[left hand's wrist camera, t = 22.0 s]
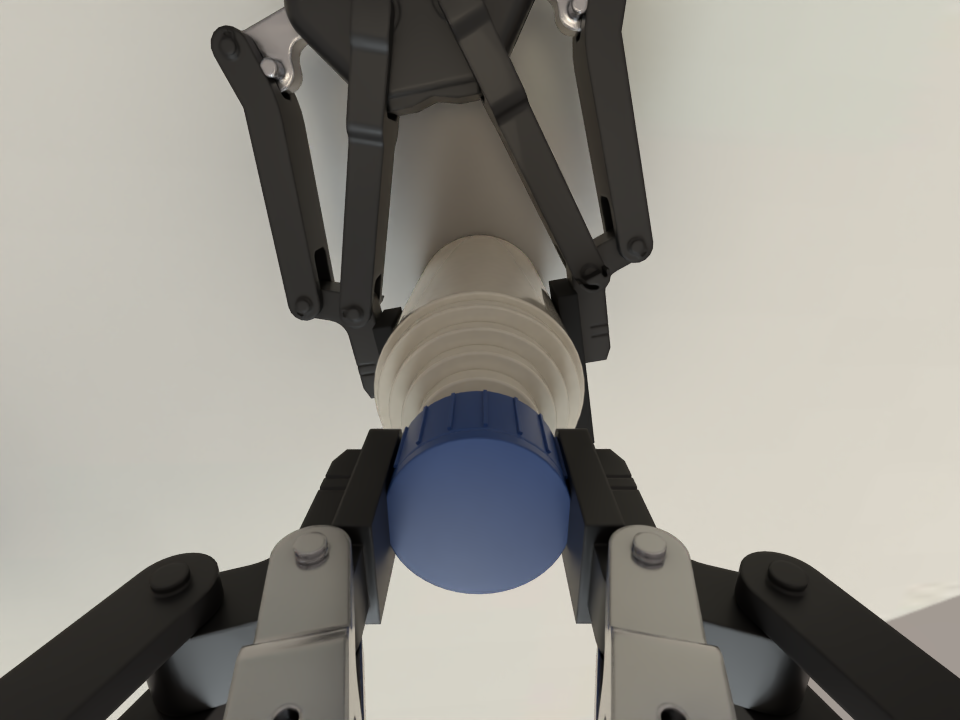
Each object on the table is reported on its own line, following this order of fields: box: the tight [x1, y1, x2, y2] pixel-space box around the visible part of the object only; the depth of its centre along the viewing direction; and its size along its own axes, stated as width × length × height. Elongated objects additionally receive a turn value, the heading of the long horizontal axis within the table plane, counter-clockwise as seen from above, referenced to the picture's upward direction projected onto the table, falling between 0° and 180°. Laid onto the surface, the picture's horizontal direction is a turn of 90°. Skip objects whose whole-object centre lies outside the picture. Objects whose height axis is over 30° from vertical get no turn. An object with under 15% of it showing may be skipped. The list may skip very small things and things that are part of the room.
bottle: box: [374, 235, 585, 436], centre depth 19 cm, size 6×6×18 cm
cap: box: [387, 390, 570, 594], centre depth 11 cm, size 4×4×2 cm
